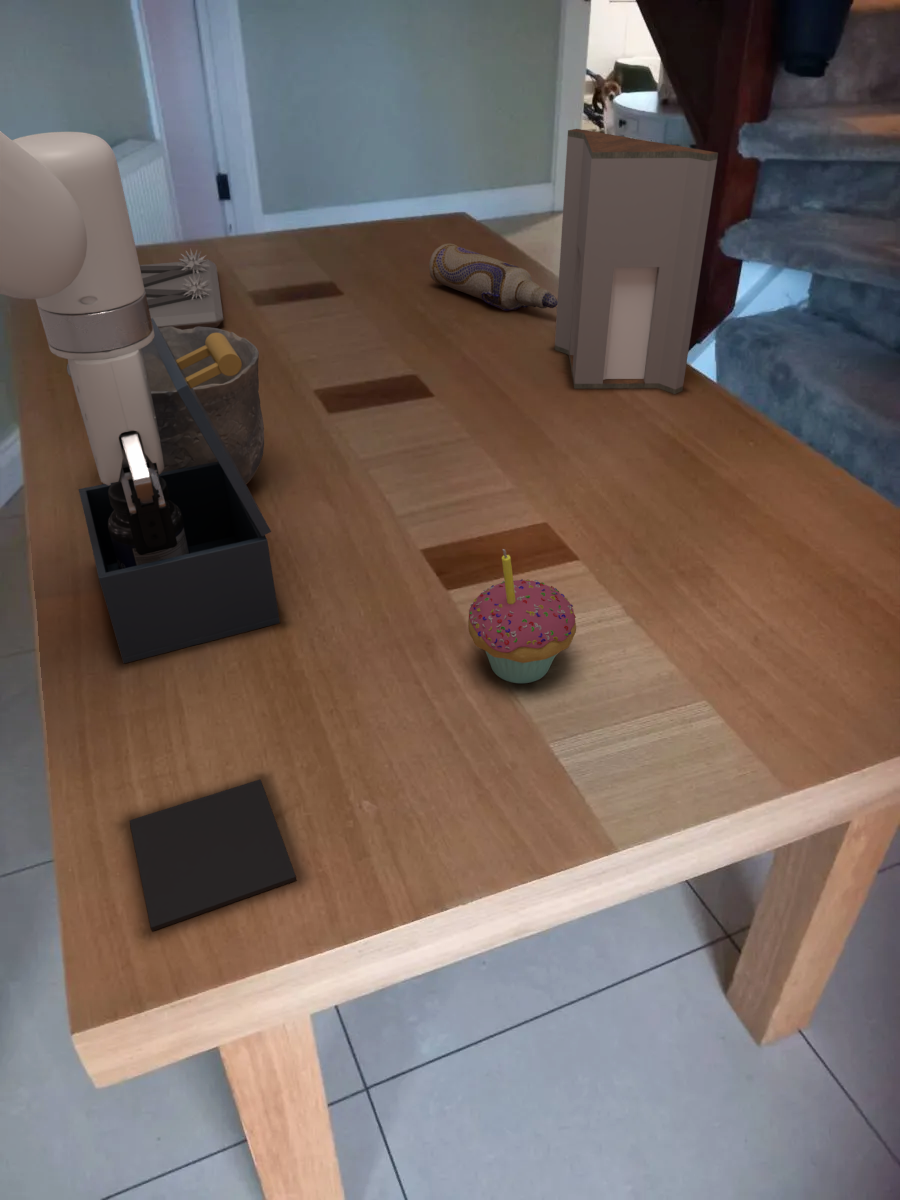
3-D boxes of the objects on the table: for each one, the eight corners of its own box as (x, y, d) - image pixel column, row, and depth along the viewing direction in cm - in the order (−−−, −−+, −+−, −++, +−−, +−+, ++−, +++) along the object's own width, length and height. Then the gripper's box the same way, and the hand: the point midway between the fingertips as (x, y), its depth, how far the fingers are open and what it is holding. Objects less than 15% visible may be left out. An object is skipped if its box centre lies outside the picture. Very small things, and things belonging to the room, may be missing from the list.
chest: (123, 663, 75) (98, 578, 70) (101, 568, 87) (78, 488, 82) (280, 623, 80) (267, 539, 74) (239, 537, 91) (226, 459, 86)
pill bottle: (124, 583, 84) (96, 476, 77) (192, 569, 85) (170, 463, 79) (131, 621, 79) (100, 511, 72) (202, 606, 81) (179, 497, 74)
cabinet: (682, 390, 118) (718, 152, 102) (634, 412, 113) (664, 165, 96) (562, 346, 131) (576, 128, 114) (514, 364, 126) (522, 138, 109)
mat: (152, 931, 55) (150, 927, 55) (130, 824, 62) (129, 820, 62) (296, 880, 58) (296, 876, 58) (261, 782, 65) (260, 778, 65)
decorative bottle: (425, 288, 152) (425, 246, 148) (460, 279, 156) (460, 238, 152) (535, 330, 136) (537, 284, 132) (570, 318, 140) (574, 274, 136)
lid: (176, 390, 65) (243, 356, 65) (143, 322, 76) (200, 294, 77) (262, 537, 74) (319, 506, 75) (221, 456, 85) (271, 431, 86)
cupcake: (515, 714, 70) (521, 586, 63) (445, 659, 75) (443, 536, 68) (594, 667, 74) (607, 543, 67) (522, 618, 80) (528, 498, 73)
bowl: (122, 552, 89) (83, 408, 80) (91, 474, 102) (55, 342, 93) (297, 507, 95) (279, 369, 86) (247, 439, 108) (227, 313, 99)
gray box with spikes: (225, 330, 137) (217, 282, 133) (74, 344, 133) (61, 295, 129) (217, 271, 161) (210, 229, 156) (89, 282, 157) (78, 238, 152)
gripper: (35, 294, 73) (90, 483, 83) (54, 373, 60) (115, 585, 70) (132, 280, 75) (174, 466, 85) (170, 354, 62) (213, 562, 73)
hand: (147, 520), depth 78 cm, fingers open, 9 cm apart
